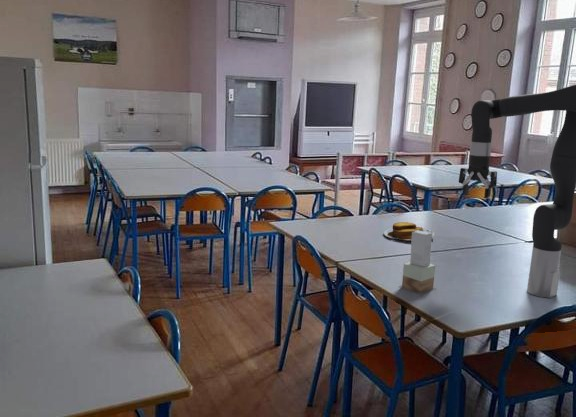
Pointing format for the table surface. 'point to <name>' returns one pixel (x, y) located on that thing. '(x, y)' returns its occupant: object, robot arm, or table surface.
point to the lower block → (417, 284)
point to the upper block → (418, 271)
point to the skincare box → (421, 248)
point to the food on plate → (404, 231)
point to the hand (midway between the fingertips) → (475, 196)
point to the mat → (417, 292)
